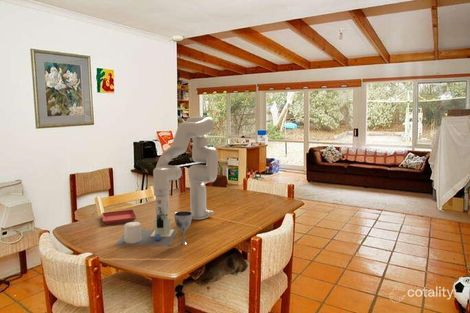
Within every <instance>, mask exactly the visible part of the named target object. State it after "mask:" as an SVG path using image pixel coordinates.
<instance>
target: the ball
mask: <svg viewBox="0 0 470 313" xmlns="http://www.w3.org/2000/svg"><path fill="white" fill-rule="evenodd" d="M154 238H155V240H157V241H159V240H160V239H161V235H160V234H156V235H155V236H154Z"/></svg>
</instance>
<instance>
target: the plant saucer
mask: <svg viewBox="0 0 470 313" xmlns="http://www.w3.org/2000/svg"><path fill="white" fill-rule="evenodd" d="M101 215H102V222H103V223H104V224H105V225H117V224H124V223H125V224H126V223H129V222H135V220H136V219H137V215H136V213H135V211H134V209H125V210H117V211H116V210H115V211H107V212H106V211H105V212H102V213H101Z"/></svg>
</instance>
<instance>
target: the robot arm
mask: <svg viewBox="0 0 470 313" xmlns="http://www.w3.org/2000/svg"><path fill="white" fill-rule="evenodd" d="M214 127H215V122H214V119H213V118H212V117H210V116H190V117H188V118H186V119H185V121H184V122H183V121H182V122H180V123H179V124H178V126H177V130H176V132H175V135H174V137H173V140H172V143H171V145H170V146H169V147H168V148H167V149H166V150H165V151H164V152H163V153H162V154H160V155H159V158H158V160H157V163H156V166H155V168H154V169H153V170H152V175H153V176H152V177H153V195H154V197H155V215H156V217H157V228H163V215H165V216H168V213H169V211H170V202H169V201H170V200H169V195H170V181H177V180H179V179H180V178H181V177H182V175H183V170H182V169H181V167H180V166H177V165H172V164H171V165H170V164H169V162H171V161H172V160H173V159H174V158H175V157H178V156H180V155H182V154H185V153H186V152H187V150H188V147H189V144H190V140H191V138H192V149H191V150H192V152H191V158H192V161H193V162H196V163H201V164H193V165H191V166H189V168H188V171H187V176H188V178H189V180H188V181H189V195H190V198H189V200H190V201H189V202H190V203H189V204H190V206H189V207H190V212H191V213H192V220H194V221H195V220H196V221H198V220H206V219H207V218H209V216H210V215H214V210H212V209H211V210H208V208H207V187H206V184H205V183H214V182H215V181H216V180H217V177H218V169H219V152H218V150H217V148H216V147H211V146H210V147H209V146H208V136H207V135H208V133H210V132H212V131H213V129H214ZM204 164H206V165H204Z"/></svg>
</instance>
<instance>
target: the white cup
mask: <svg viewBox="0 0 470 313" xmlns="http://www.w3.org/2000/svg"><path fill="white" fill-rule="evenodd" d="M141 230H142V223H140V222H138V221H133V222H126V223H125V224H124V226H123V235H124V242H126V243H136V242H140V241H141V239H142V232H141Z"/></svg>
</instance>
